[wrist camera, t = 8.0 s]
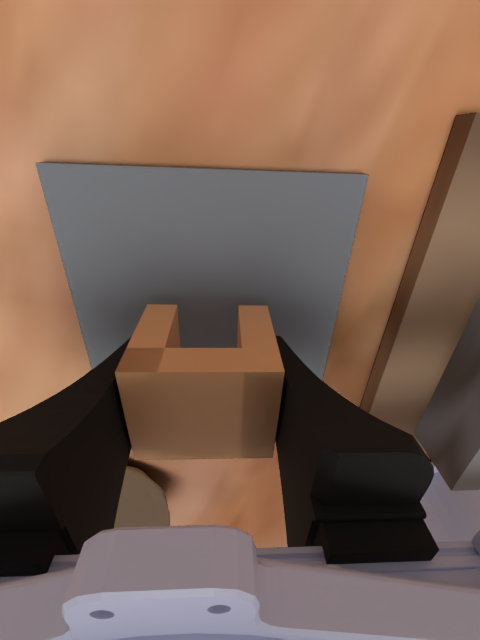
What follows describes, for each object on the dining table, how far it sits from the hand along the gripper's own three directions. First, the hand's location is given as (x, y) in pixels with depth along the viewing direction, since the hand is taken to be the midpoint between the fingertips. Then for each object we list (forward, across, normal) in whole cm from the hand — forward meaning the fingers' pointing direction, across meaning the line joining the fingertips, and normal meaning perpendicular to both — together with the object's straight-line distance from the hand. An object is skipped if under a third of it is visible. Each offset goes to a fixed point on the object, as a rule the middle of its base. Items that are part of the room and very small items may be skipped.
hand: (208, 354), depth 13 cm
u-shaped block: (+1, 0, 0) cm, 1 cm away
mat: (+2, 0, 0) cm, 2 cm away
